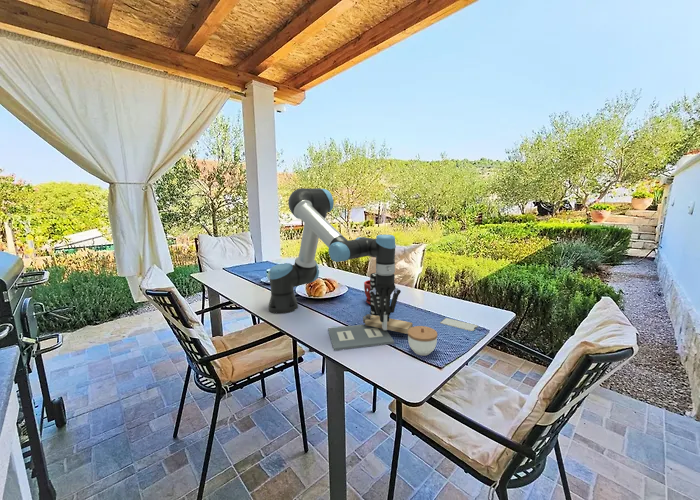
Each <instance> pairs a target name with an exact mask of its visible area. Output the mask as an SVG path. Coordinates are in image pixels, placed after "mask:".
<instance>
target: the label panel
mask: <svg viewBox="0 0 700 500" xmlns="http://www.w3.org/2000/svg"><path fill="white" fill-rule="evenodd" d="M328 334H329V338H330V341H331V344H332V348H333V351H334V350H336V351H343V349H344V350H351V349H361V348H370V347H377V346H385V345H392V344H395V340H394V339H393V338H392V336H391V334H390V333H389V332H388V330H383V329H382V328H378V327H373V326H368V325H365V323H364V324H356V325H348V326H347V325H346V326H338V327H328Z"/></svg>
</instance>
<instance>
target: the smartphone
mask: <svg viewBox="0 0 700 500" xmlns="http://www.w3.org/2000/svg"><path fill="white" fill-rule="evenodd" d="M439 323H440V324H441V325H445V326H449V327H453V328H456V327H457V329H460V330H463V329H464V331H467V330H468V332H471V331H474V330H475V329H476V328H477V329H478V328H479V325H478V324H474V323H470V322H466V321H461V320H458V319H457V320H456V319H452V318H449V317H445V318H444V319H442V320H441V321H440V322H439ZM477 329H476V330H477ZM476 330H475V331H476ZM475 331H474V332H475Z"/></svg>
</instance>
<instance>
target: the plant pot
mask: <svg viewBox="0 0 700 500" xmlns="http://www.w3.org/2000/svg"><path fill="white" fill-rule="evenodd" d="M363 286H364V287H363V289H364V294H365V297H366V299H365V302H366V303H367V304H368V305H370V306H371V303H370V293H369V291H370V279H369V280H366V281H364V282H363Z"/></svg>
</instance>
